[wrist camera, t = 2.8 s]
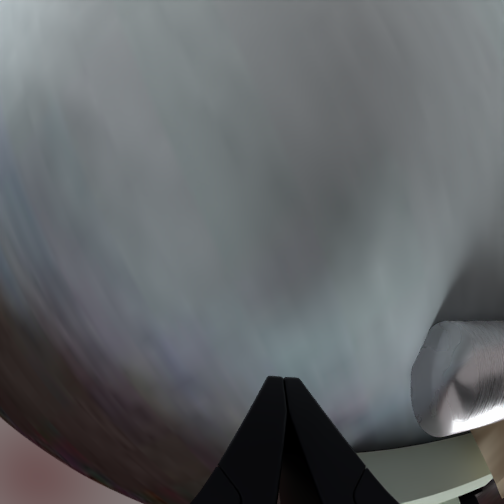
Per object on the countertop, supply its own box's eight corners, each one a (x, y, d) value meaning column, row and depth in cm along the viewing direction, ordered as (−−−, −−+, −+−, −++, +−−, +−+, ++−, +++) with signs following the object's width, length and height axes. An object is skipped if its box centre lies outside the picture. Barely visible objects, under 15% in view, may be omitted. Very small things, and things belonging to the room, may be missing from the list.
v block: (433, 483, 14) (444, 516, 11) (310, 502, 14) (313, 545, 11) (484, 428, 12) (504, 466, 9) (344, 453, 12) (355, 511, 9)
